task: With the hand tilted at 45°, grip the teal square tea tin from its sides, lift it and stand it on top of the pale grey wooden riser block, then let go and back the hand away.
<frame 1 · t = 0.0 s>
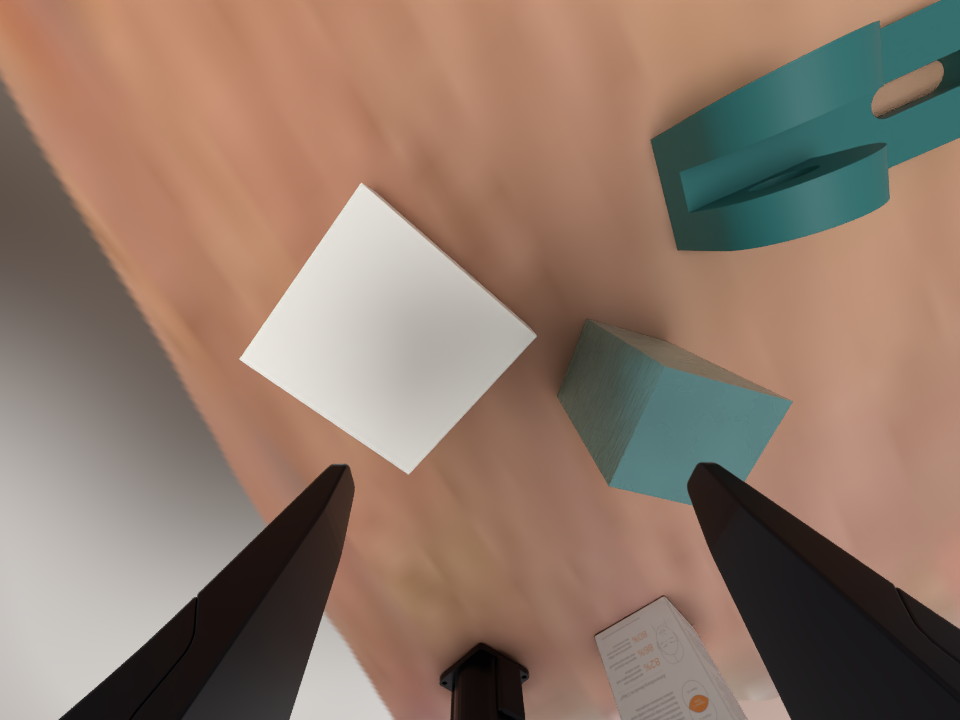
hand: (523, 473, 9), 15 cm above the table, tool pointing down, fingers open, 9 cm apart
bracket: (806, 132, 21), on the table
riser block: (398, 336, 24), on the table
small box: (642, 627, 33), on the table
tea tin: (610, 369, 25), on the table
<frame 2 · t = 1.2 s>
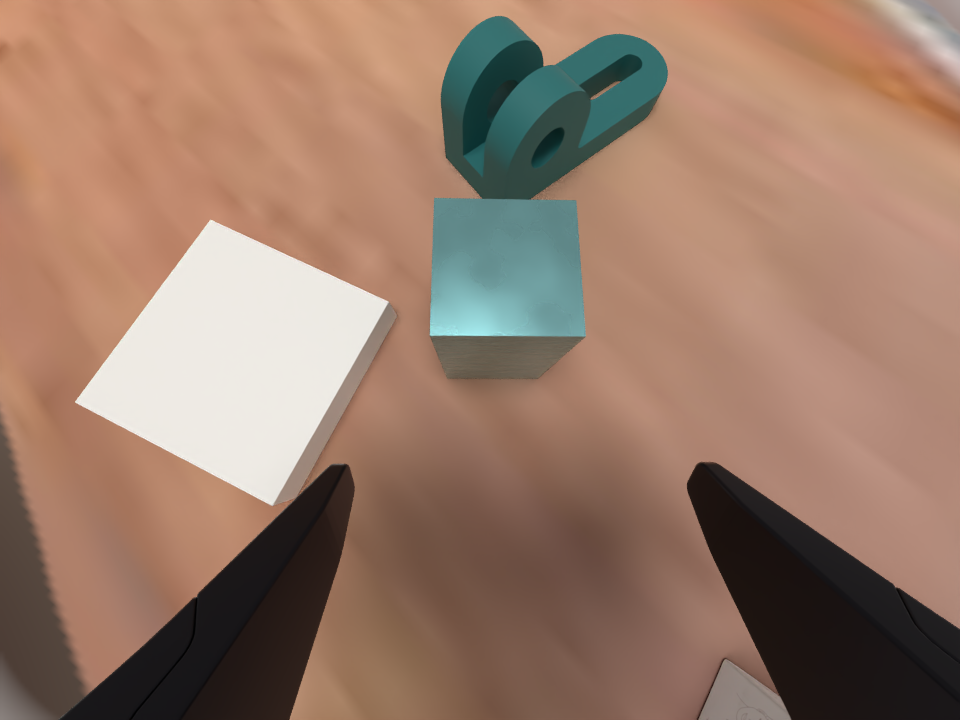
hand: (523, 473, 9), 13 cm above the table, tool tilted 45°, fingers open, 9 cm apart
bracket: (560, 132, 28), on the table
riser block: (267, 361, 23), on the table
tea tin: (491, 335, 24), on the table
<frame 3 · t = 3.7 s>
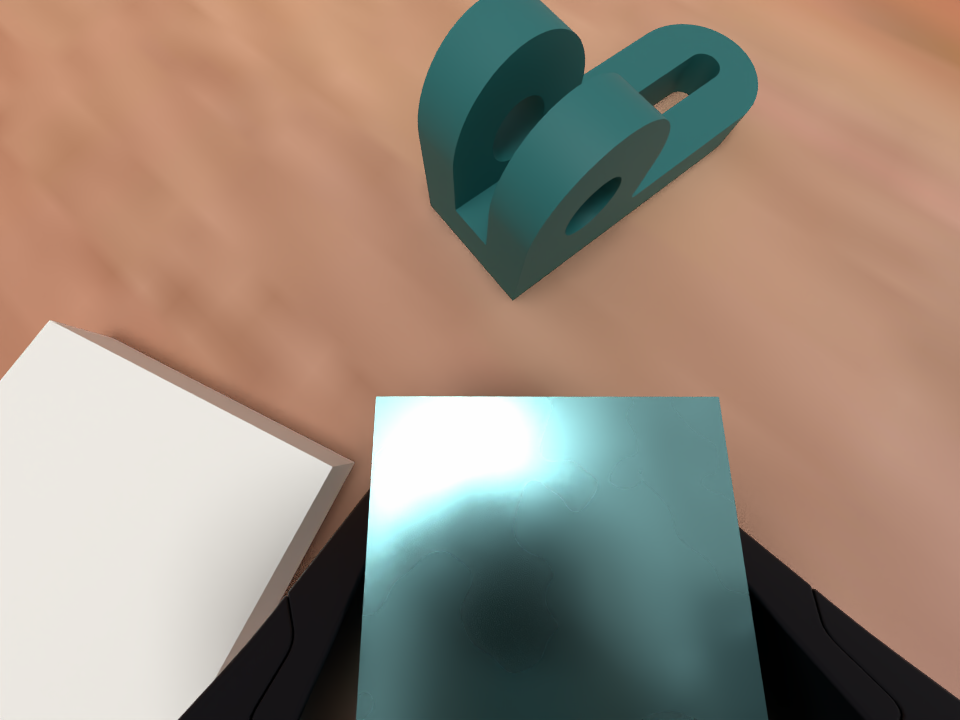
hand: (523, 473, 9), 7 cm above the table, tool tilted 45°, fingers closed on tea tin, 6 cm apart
bracket: (596, 166, 19), on the table
riser block: (149, 535, 15), on the table
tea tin: (502, 491, 15), on the table, touching gripper
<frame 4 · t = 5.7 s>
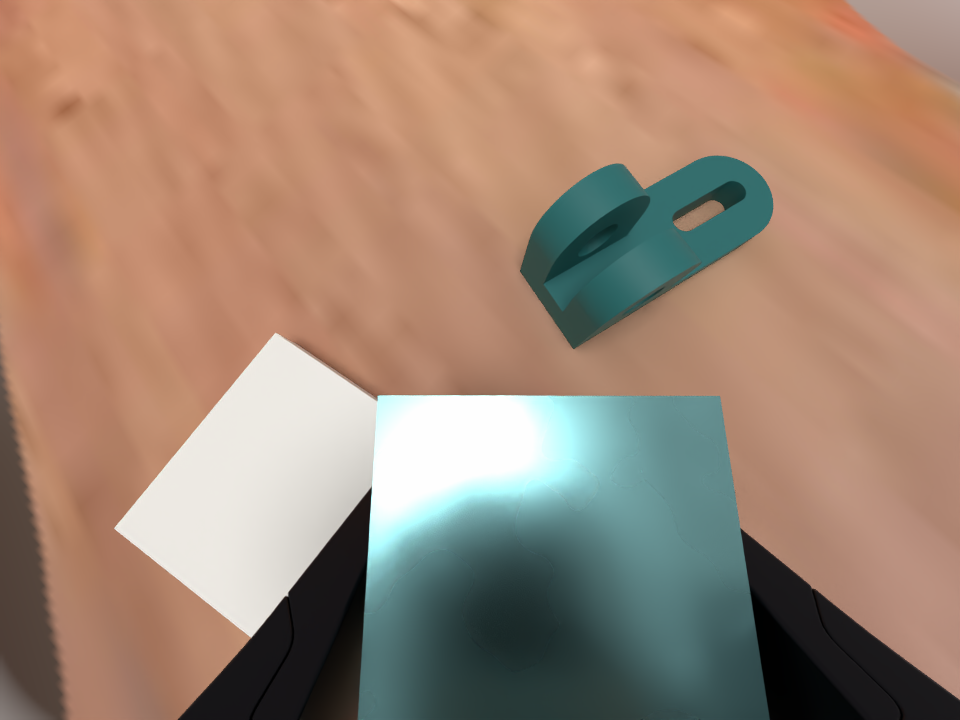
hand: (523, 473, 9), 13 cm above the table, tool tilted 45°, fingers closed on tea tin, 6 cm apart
bracket: (644, 252, 26), on the table
riser block: (314, 482, 22), on the table
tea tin: (502, 491, 15), point 7 cm above the table, touching gripper
when the fingers open (10 cm above the table, at t = 7.8 s): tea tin drops 1 cm, point 2 cm above the table.
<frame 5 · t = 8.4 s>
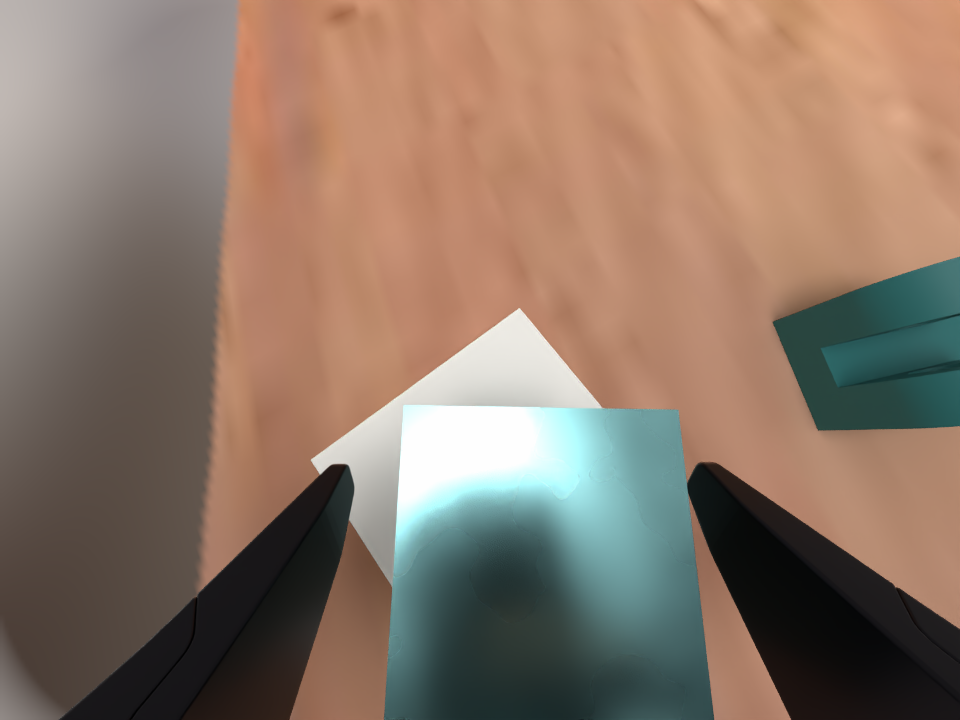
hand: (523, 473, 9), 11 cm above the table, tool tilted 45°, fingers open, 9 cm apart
bracket: (919, 345, 22), on the table
riser block: (494, 478, 20), on the table
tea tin: (501, 489, 17), point 2 cm above the table
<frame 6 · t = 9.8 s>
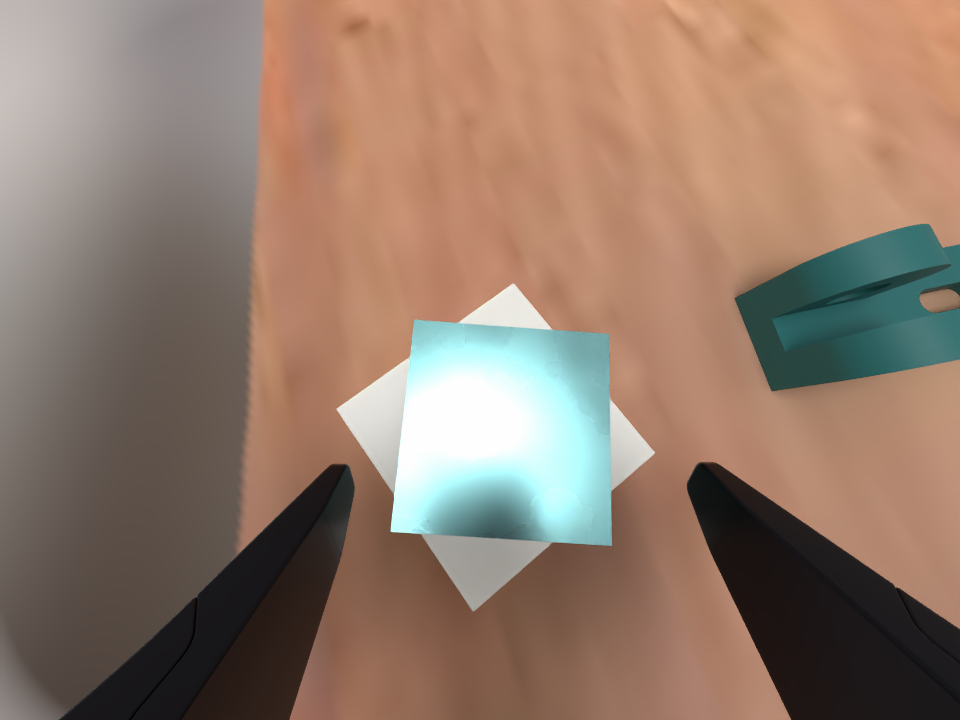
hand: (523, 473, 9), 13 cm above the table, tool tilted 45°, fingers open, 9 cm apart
bracket: (863, 319, 25), on the table
riser block: (492, 431, 23), on the table, touching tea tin
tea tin: (488, 430, 20), point 2 cm above the table, touching riser block
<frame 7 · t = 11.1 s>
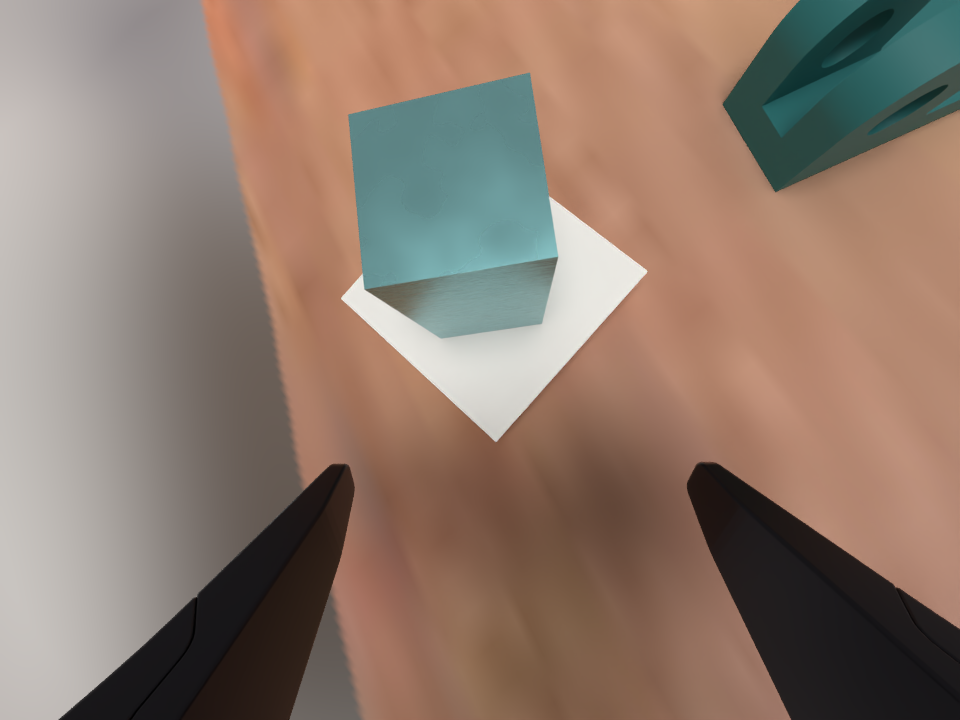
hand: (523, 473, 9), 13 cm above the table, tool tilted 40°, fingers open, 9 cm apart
bracket: (881, 88, 22), on the table
riser block: (491, 299, 24), on the table, touching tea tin
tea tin: (484, 282, 21), point 2 cm above the table, touching riser block
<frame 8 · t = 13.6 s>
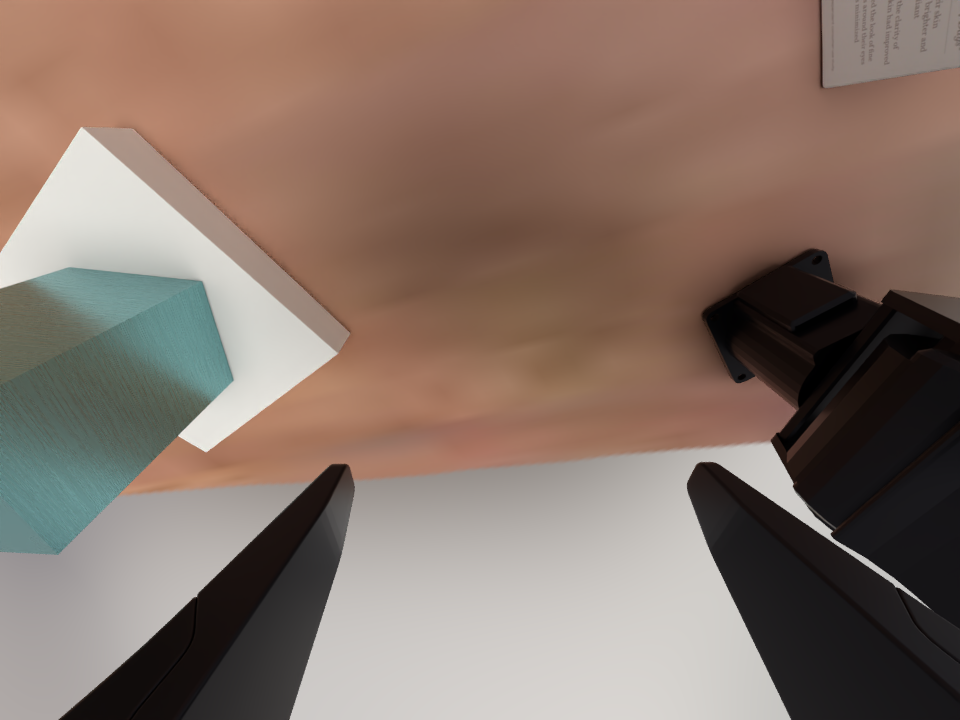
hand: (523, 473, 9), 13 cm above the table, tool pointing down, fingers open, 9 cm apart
riser block: (197, 309, 21), on the table, touching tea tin
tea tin: (159, 329, 18), point 2 cm above the table, touching riser block
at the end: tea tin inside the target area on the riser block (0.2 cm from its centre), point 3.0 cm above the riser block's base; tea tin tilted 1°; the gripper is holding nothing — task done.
